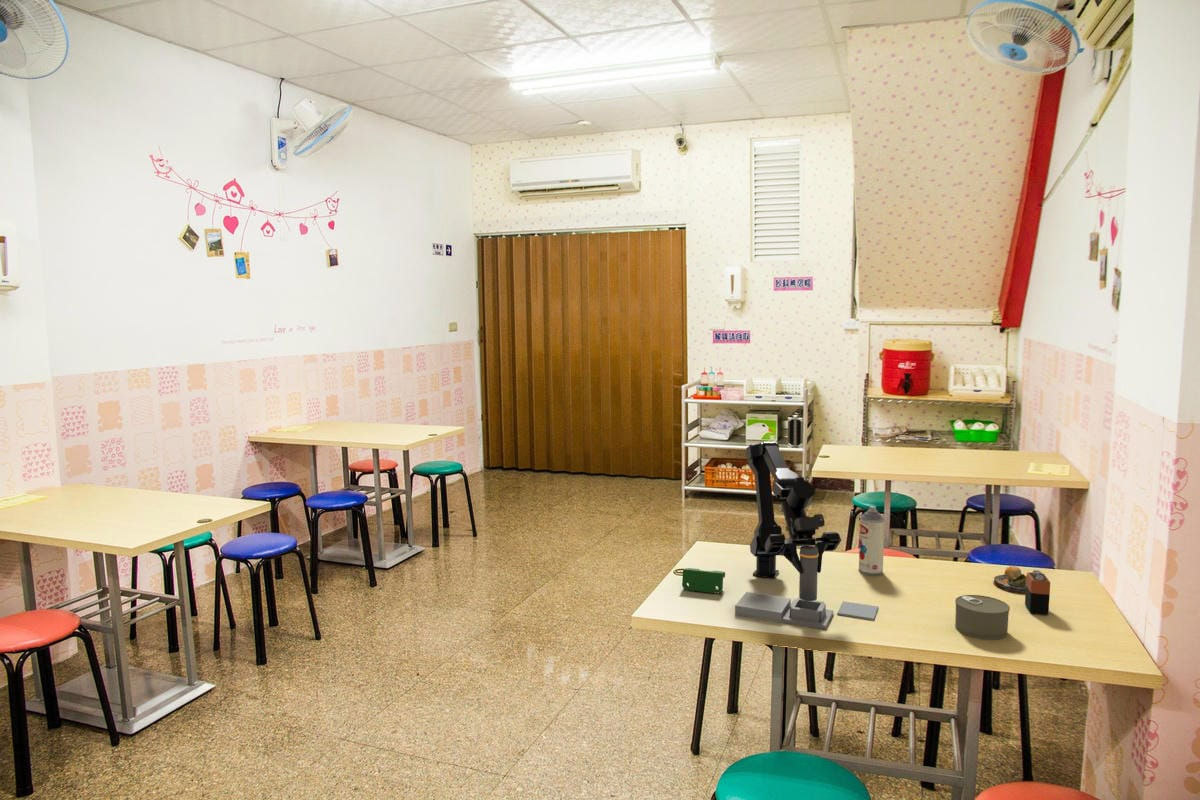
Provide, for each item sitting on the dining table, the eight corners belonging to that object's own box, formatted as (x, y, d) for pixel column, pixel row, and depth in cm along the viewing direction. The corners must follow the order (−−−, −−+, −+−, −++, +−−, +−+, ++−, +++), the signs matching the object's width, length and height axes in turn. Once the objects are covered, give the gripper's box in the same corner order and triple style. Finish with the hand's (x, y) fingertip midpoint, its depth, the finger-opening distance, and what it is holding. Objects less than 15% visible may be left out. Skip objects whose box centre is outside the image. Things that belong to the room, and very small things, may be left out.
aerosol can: (855, 568, 241) (857, 503, 238) (877, 567, 241) (880, 503, 238) (863, 575, 234) (865, 509, 232) (886, 575, 234) (888, 509, 232)
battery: (1042, 606, 209) (1044, 570, 208) (1048, 616, 202) (1051, 578, 201) (1024, 604, 210) (1026, 568, 209) (1029, 614, 204) (1032, 576, 203)
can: (983, 644, 186) (985, 616, 185) (943, 625, 197) (944, 599, 196) (1019, 635, 191) (1021, 608, 190) (978, 617, 202) (979, 592, 201)
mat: (842, 602, 213) (842, 601, 212) (878, 608, 209) (878, 606, 209) (837, 614, 204) (837, 612, 204) (873, 620, 201) (873, 618, 201)
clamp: (717, 603, 225) (731, 575, 225) (713, 605, 219) (727, 576, 219) (680, 582, 229) (694, 554, 229) (675, 584, 224) (689, 555, 223)
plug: (800, 593, 205) (801, 544, 203) (819, 596, 203) (820, 546, 201) (796, 599, 201) (797, 549, 199) (815, 602, 199) (816, 552, 197)
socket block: (746, 600, 215) (746, 588, 214) (833, 614, 205) (833, 601, 205) (734, 614, 205) (735, 601, 205) (825, 629, 195) (826, 615, 195)
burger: (1043, 597, 216) (1045, 570, 216) (996, 591, 221) (997, 565, 220) (1036, 582, 228) (1037, 557, 227) (991, 578, 232) (992, 553, 231)
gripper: (769, 504, 202) (782, 559, 192) (839, 501, 204) (856, 556, 194) (759, 525, 211) (771, 579, 201) (826, 523, 213) (842, 576, 203)
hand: (810, 572), depth 200 cm, fingers closed on plug, 4 cm apart
